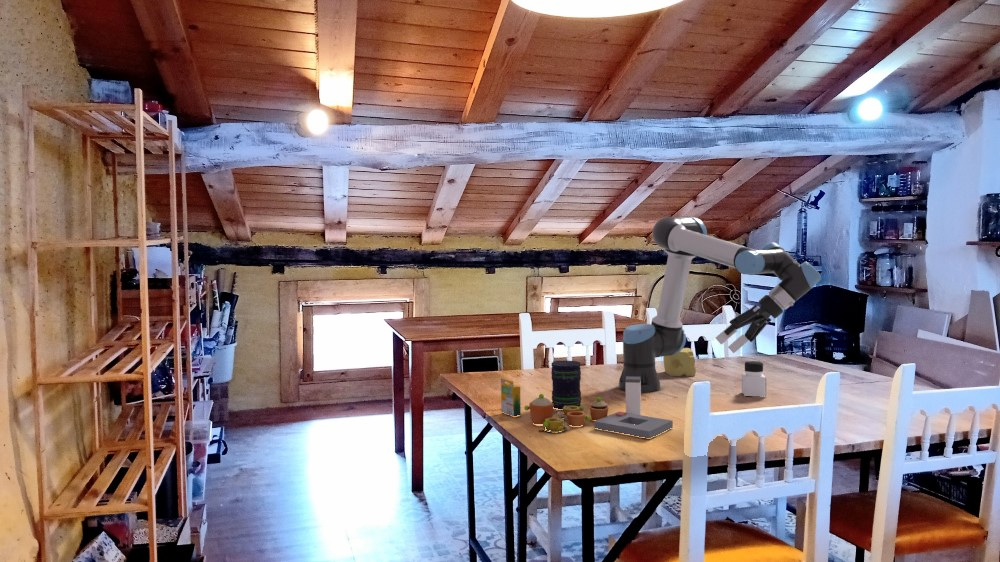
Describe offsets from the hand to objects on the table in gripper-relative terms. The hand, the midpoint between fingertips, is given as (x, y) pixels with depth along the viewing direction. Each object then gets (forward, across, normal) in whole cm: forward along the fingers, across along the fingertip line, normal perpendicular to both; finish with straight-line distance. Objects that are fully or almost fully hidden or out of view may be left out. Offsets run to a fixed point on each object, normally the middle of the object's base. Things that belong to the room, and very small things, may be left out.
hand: (724, 345), depth 224 cm
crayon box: (+63, -35, +15) cm, 73 cm away
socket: (+34, -30, -12) cm, 47 cm away
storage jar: (+51, -18, +12) cm, 56 cm away
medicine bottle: (+6, +28, -10) cm, 31 cm away
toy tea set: (+49, -33, +1) cm, 59 cm away
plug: (+34, -16, -4) cm, 38 cm away
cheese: (+25, +50, +21) cm, 60 cm away
